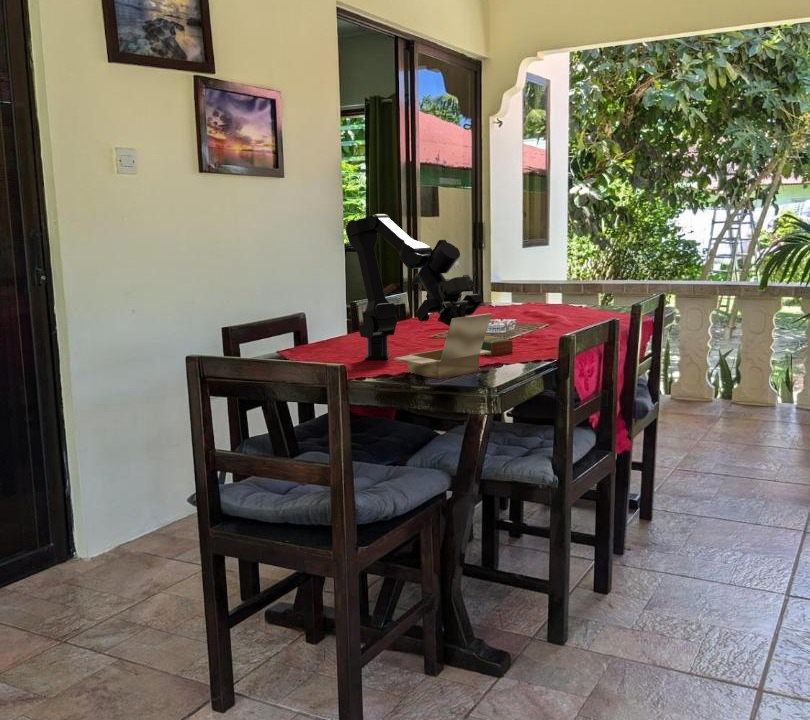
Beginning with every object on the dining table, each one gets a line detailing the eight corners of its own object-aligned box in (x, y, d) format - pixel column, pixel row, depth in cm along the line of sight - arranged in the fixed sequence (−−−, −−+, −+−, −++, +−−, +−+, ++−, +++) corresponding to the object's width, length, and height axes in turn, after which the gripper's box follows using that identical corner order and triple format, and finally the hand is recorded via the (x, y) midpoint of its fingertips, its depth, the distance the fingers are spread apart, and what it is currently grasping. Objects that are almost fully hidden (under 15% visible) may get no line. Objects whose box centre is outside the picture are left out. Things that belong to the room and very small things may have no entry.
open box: (392, 374, 214) (392, 357, 213) (460, 362, 229) (460, 346, 228) (423, 382, 205) (423, 364, 204) (492, 368, 220) (492, 351, 219)
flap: (452, 318, 202) (453, 319, 201) (490, 313, 210) (492, 313, 210) (440, 359, 207) (441, 360, 207) (478, 353, 215) (479, 354, 215)
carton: (477, 346, 255) (477, 332, 254) (513, 353, 242) (513, 339, 242) (455, 349, 251) (456, 335, 250) (491, 357, 238) (491, 342, 237)
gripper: (423, 266, 203) (454, 317, 197) (478, 262, 215) (509, 309, 209) (402, 296, 211) (432, 345, 204) (456, 290, 222) (486, 336, 216)
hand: (466, 333), depth 208 cm, fingers closed, pressing on flap
